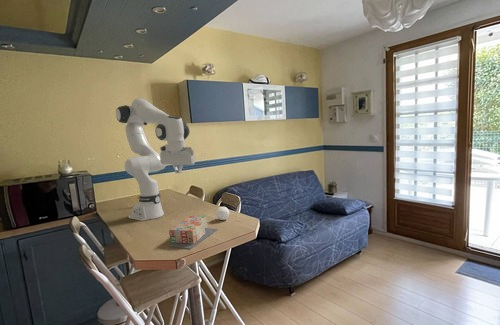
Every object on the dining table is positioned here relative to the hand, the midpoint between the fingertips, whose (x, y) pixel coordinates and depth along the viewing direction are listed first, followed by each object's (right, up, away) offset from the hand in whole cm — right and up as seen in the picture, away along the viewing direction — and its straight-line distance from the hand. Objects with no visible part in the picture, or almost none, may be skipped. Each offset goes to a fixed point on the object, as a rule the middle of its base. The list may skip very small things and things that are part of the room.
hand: (178, 173), depth 142 cm
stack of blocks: (+3, -28, -8) cm, 29 cm away
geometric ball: (+23, -28, +12) cm, 38 cm away
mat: (+11, -31, -12) cm, 35 cm away
